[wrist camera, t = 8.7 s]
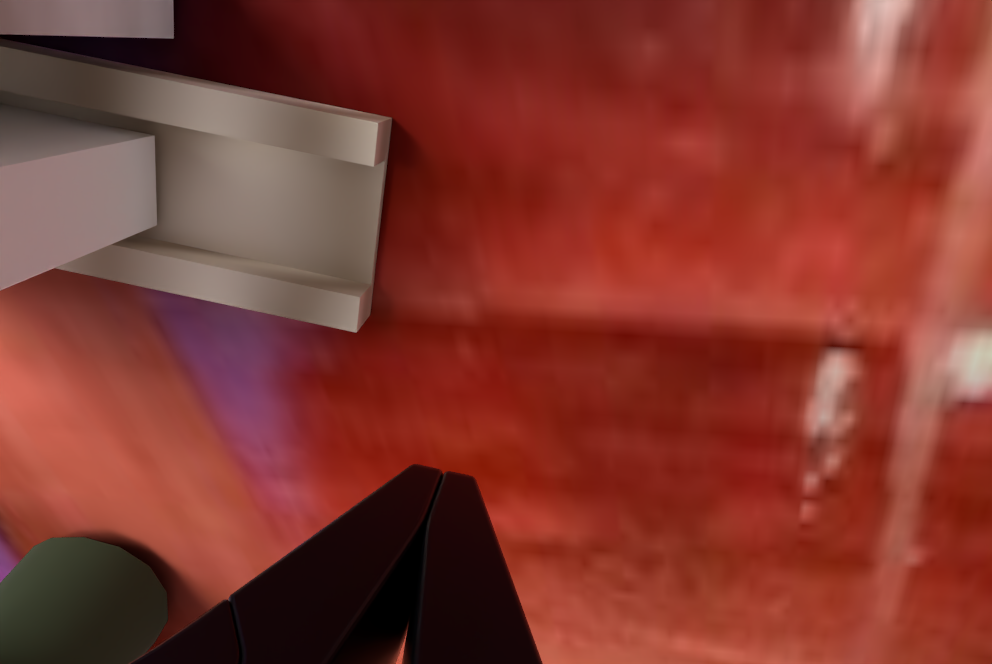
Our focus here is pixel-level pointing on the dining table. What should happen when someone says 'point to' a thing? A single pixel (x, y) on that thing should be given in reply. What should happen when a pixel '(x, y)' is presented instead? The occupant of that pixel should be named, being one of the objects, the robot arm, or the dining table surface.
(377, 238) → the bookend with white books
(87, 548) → the character mug
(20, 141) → the door
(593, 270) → the dining table surface
